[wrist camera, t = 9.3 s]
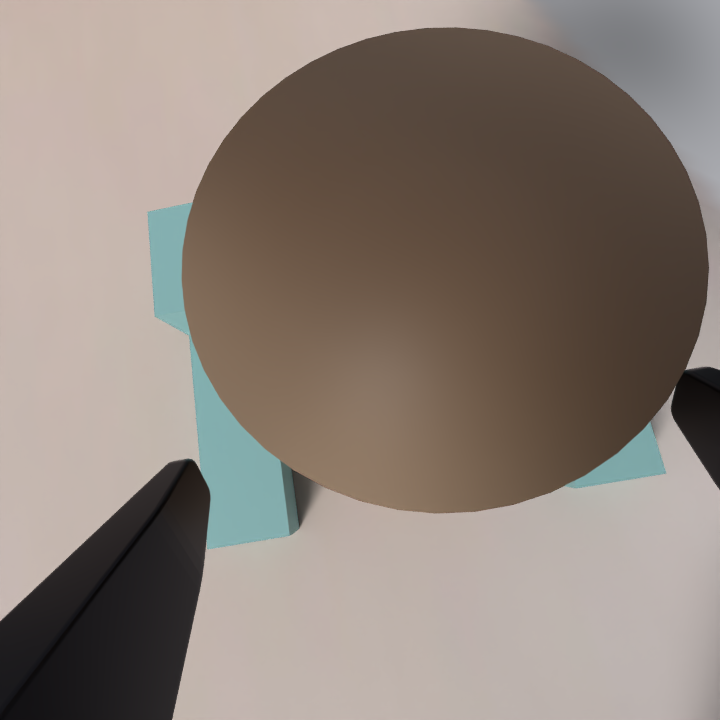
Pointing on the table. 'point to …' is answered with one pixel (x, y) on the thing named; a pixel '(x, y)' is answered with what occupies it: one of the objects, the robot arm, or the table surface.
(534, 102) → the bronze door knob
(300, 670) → the table surface
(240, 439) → the notched board
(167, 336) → the table surface
